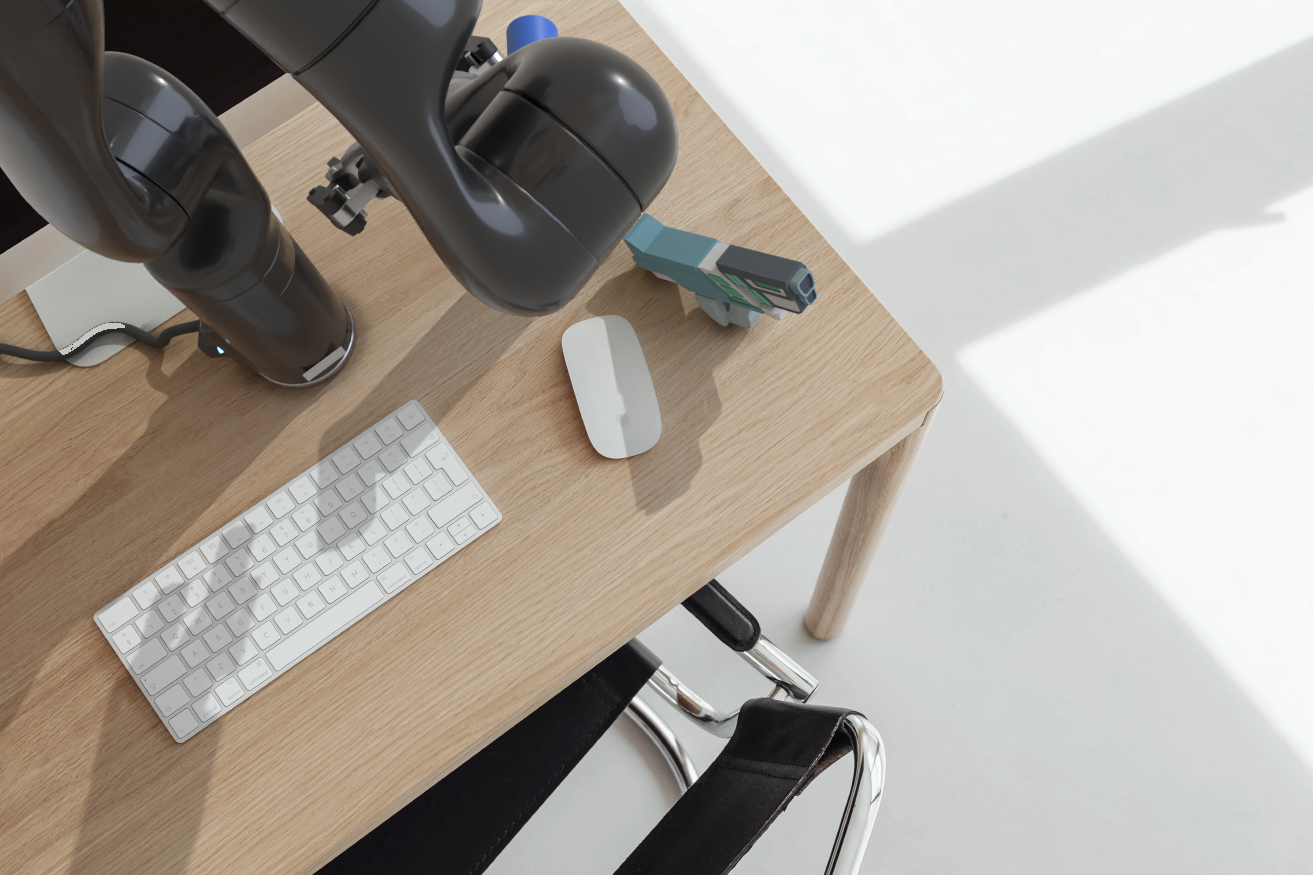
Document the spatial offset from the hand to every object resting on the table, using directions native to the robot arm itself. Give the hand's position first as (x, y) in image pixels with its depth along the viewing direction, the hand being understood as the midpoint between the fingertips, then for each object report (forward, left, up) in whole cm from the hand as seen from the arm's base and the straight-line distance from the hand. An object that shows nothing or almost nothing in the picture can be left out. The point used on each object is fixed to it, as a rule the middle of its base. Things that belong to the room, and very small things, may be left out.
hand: (387, 126), depth 66 cm
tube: (+10, +4, -2) cm, 11 cm away
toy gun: (+22, -4, -24) cm, 33 cm away
